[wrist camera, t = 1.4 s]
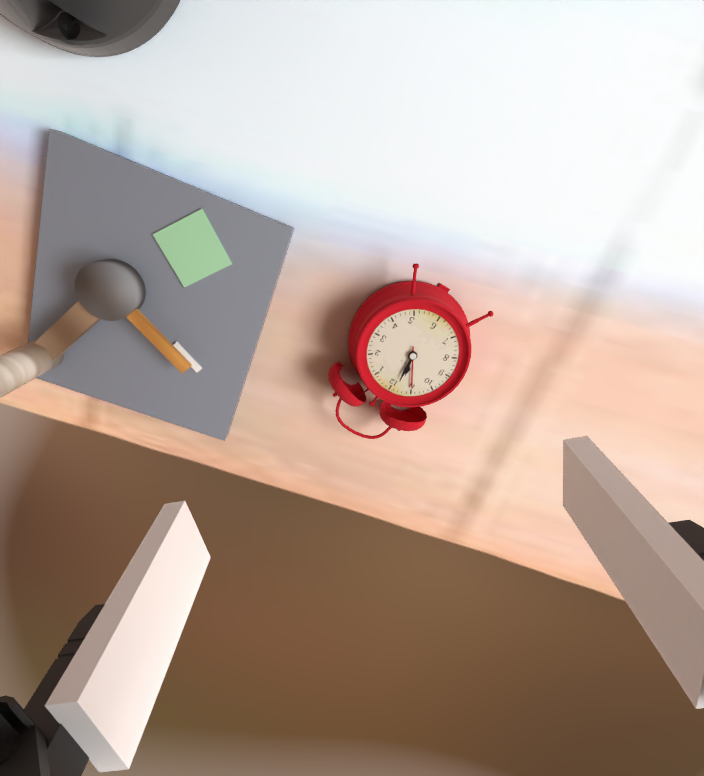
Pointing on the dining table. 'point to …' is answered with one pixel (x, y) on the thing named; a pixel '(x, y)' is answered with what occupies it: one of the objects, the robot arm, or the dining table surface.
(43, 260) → the tuner board
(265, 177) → the dining table surface
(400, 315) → the alarm clock
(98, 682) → the robot arm
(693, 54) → the dining table surface
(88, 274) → the peg lever
